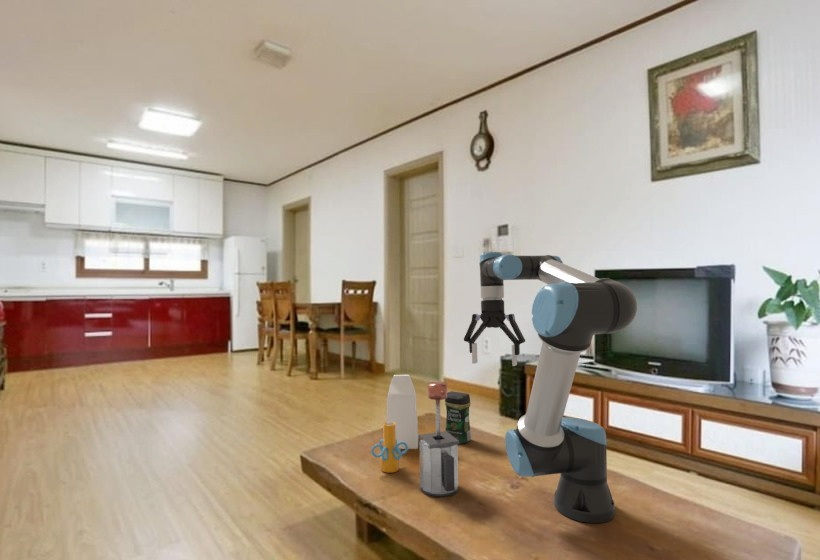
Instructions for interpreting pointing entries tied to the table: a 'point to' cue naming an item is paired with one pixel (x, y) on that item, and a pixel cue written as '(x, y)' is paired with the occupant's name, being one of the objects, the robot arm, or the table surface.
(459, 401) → the coffee jar
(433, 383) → the plunger
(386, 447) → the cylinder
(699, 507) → the table surface
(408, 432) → the milk
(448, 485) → the press carafe
